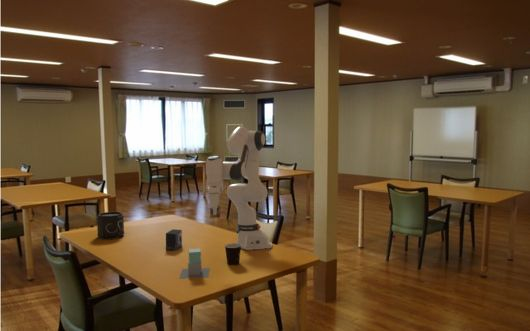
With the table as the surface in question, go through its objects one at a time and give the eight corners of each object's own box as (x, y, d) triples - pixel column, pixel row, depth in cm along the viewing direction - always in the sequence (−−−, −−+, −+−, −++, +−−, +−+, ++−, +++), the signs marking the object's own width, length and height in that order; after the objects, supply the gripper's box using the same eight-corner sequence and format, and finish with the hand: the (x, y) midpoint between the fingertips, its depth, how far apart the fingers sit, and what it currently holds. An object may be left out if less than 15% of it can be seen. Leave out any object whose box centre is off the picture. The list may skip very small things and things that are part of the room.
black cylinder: (131, 235, 277) (130, 212, 276) (108, 241, 262) (107, 217, 261) (114, 231, 287) (113, 210, 286) (91, 237, 272) (90, 214, 271)
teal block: (199, 259, 203) (199, 248, 203) (200, 262, 198) (200, 251, 197) (188, 260, 202) (188, 249, 201) (189, 263, 196) (189, 252, 196)
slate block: (201, 270, 204) (201, 259, 203) (200, 274, 198) (200, 263, 197) (189, 271, 203) (189, 259, 203) (188, 275, 197) (188, 263, 197)
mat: (209, 268, 208) (209, 267, 208) (208, 278, 194) (208, 277, 194) (182, 269, 207) (182, 268, 207) (179, 279, 193) (179, 278, 193)
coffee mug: (234, 267, 210) (234, 248, 209) (222, 264, 214) (221, 246, 213) (247, 261, 219) (247, 243, 219) (234, 258, 224) (234, 241, 223)
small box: (175, 250, 240) (175, 233, 239) (165, 250, 241) (165, 233, 240) (182, 246, 250) (182, 229, 249) (172, 245, 251) (172, 229, 251)
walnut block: (220, 215, 213) (220, 206, 212) (219, 217, 208) (219, 208, 207) (210, 215, 212) (210, 206, 212) (210, 217, 207) (210, 208, 207)
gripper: (209, 184, 219) (210, 209, 220) (207, 190, 198) (208, 217, 200) (221, 184, 219) (221, 209, 220) (220, 190, 199) (220, 217, 200)
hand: (215, 213), depth 210 cm, fingers closed on walnut block, 5 cm apart
